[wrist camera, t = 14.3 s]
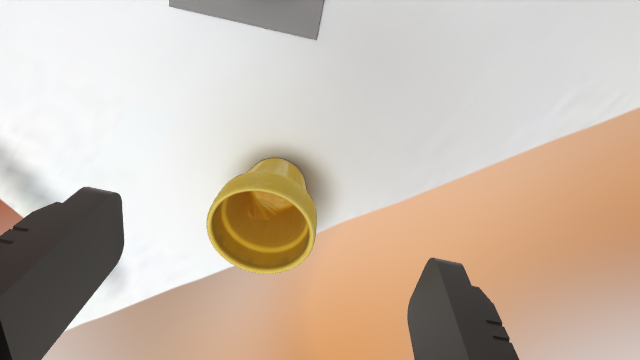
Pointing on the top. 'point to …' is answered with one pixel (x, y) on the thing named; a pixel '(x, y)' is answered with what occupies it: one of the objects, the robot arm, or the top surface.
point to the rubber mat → (263, 13)
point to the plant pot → (264, 218)
